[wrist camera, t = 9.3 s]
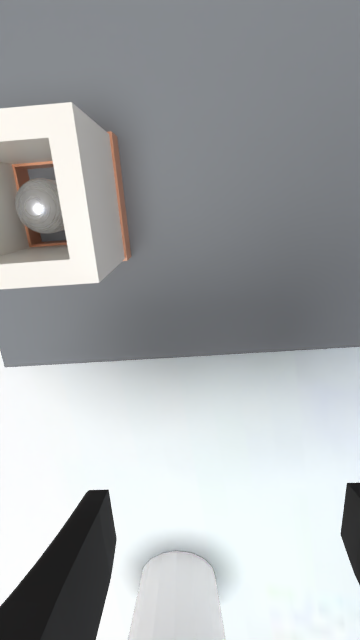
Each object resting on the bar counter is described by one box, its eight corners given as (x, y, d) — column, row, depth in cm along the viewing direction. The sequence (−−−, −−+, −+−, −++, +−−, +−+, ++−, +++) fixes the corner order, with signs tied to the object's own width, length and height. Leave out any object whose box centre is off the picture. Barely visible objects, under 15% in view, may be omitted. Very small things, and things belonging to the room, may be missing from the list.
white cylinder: (150, 533, 25) (136, 656, 18) (238, 560, 25) (256, 687, 19) (121, 594, 27) (99, 724, 20) (203, 617, 27) (208, 749, 21)
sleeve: (117, 136, 15) (74, 97, 9) (131, 256, 17) (102, 285, 11) (0, 146, 15) (-111, 114, 10) (25, 264, 17) (-56, 296, 11)
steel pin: (87, 180, 16) (55, 174, 12) (94, 226, 16) (65, 234, 12) (43, 184, 16) (-2, 178, 12) (52, 229, 16) (11, 238, 13)
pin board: (457, -34, 14) (487, -60, 13) (402, 332, 19) (420, 343, 18) (-66, 19, 15) (-92, 1, 14) (17, 355, 20) (4, 367, 19)
